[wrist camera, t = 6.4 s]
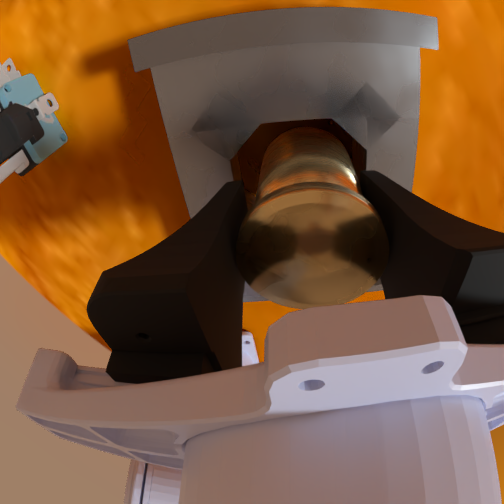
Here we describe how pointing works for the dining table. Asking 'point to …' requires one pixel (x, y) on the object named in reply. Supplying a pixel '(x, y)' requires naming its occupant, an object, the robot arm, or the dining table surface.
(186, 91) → the jig
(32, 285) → the dining table surface
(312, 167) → the brass door knob
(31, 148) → the push button
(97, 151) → the dining table surface
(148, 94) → the dining table surface
